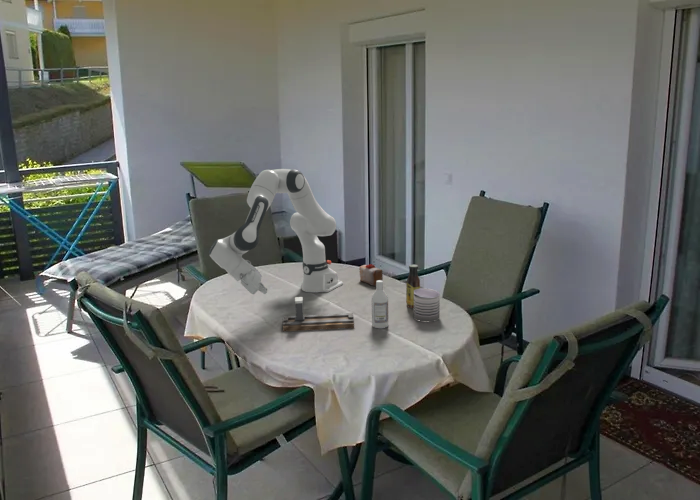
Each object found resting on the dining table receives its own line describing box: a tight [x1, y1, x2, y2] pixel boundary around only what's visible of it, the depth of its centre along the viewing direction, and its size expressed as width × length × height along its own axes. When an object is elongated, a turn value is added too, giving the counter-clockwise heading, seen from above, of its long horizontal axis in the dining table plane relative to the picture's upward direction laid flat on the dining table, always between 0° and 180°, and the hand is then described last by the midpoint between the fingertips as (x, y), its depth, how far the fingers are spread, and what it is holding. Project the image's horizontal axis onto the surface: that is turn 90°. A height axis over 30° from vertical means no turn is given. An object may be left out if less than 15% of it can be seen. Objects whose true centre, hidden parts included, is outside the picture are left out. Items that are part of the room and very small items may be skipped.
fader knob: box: [294, 296, 305, 322], centre depth 273 cm, size 4×5×10 cm
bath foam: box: [371, 280, 389, 329], centre depth 270 cm, size 7×7×20 cm
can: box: [413, 287, 441, 322], centre depth 279 cm, size 11×11×12 cm
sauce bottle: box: [405, 264, 421, 309], centre depth 292 cm, size 7×6×20 cm
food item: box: [358, 263, 384, 287], centre depth 330 cm, size 14×8×10 cm, turn 35°
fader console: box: [282, 312, 355, 332], centre depth 275 cm, size 30×12×4 cm, turn 94°
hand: (266, 292), depth 270 cm, fingers closed
